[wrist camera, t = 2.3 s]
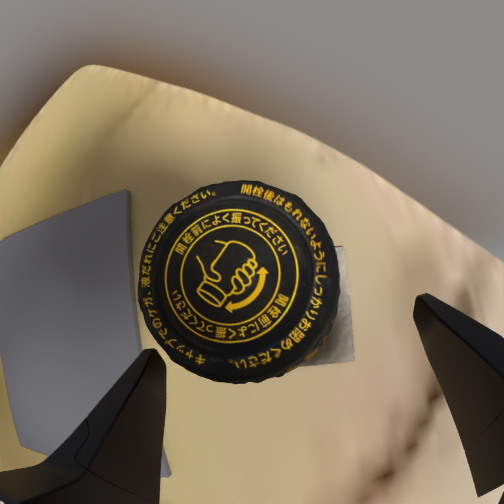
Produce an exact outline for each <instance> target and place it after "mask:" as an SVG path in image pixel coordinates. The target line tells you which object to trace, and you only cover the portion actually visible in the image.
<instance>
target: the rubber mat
mask: <svg viewBox="0 0 504 504" xmlns="http://www.w3.org/2000/svg"><path fill="white" fill-rule="evenodd" d="M0 351H1V359H2V367H3V373H4V379H5V385H6V390H7V395H8V400H9V405H10V409H11V413H12V417H13V421H14V425H15V428H16V432H17V435H18V439H19V442H20V445H21V446H22V447H25V448H28V449H30V450H33V451H36V452H39V453H42V454H45V455H48V456H50V455H51V454H52V453H53V452H54V451H55V450H56V449H57V448H58V447H59V446H60V445H61V444H62V443H63V442H64V441H65V440H66V439H67V438H68V437H69V436H70V435H71V434H72V433H73V432H74V430H75V429H76V428H77V427H78V426H79V425H80V424H81V422H82V421H83V420H84V419H85V418H86V417H87V415H88V414H89V413H90V412H91V411H92V409H93V408H94V407H95V406H96V405H97V404H98V402H99V401H100V400H101V399H102V398H103V396H104V395H105V394H106V393H107V392H108V391H109V389H110V388H111V387H112V386H113V385H114V384H115V382H116V381H117V380H118V379H119V378H120V377H121V375H122V374H123V373H124V372H125V371H126V370H127V368H128V367H129V366H130V365H131V364H132V363H133V361H134V360H135V359H136V358H137V357H138V356H139V355H140V353H141V352H142V345H141V338H140V331H139V324H138V316H137V308H136V299H135V289H134V279H133V266H132V251H131V231H130V192H129V191H128V190H127V189H125V190H122V191H120V192H117V193H114V194H111V195H108V196H105V197H103V198H100V199H97V200H94V201H92V202H89V203H86V204H84V205H81V206H79V207H76V208H74V209H71V210H69V211H66V212H64V213H61V214H59V215H56V216H54V217H52V218H49V219H47V220H45V221H42V222H40V223H38V224H35V225H33V226H31V227H29V228H27V229H24V230H22V231H20V232H18V233H16V234H14V235H12V236H10V237H7V238H5V239H3V240H1V241H0ZM170 475H171V471H170V468H169V465H168V461H167V458H166V454H165V451H164V447H163V448H162V462H161V477H169V476H170Z"/></svg>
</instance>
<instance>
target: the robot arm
mask: <svg viewBox="0 0 504 504" xmlns="http://www.w3.org/2000/svg"><path fill="white" fill-rule="evenodd" d="M413 318H414V321H415V324H416V327H417V329H418V332H419V335H420V338H421V341H422V344H423V347H424V350H425V352H426V355H427V357H428V360H429V362H430V364H431V366H432V369H433V371H434V373H435V375H436V378H437V380H438V382H439V385H440V387H441V389H442V392H443V394H444V396H445V399H446V401H447V404H448V406H449V409H450V412H451V414H452V417H453V419H454V422H455V425H456V427H457V430H458V433H459V436H460V439H461V442H462V445H463V448H464V451H465V454H466V457H467V461H468V464H469V467H470V471H471V474H472V478H473V481H474V485H475V489H476V493H477V496H478V497H480V496H482V495H484V494H486V493H488V492H490V491H492V490H494V489H496V488H498V487H500V486H501V485H503V484H504V338H503V337H502V336H501V335H499V334H497V333H496V332H494V331H492V330H491V329H489V328H487V327H486V326H484V325H482V324H481V323H479V322H477V321H476V320H474V319H472V318H471V317H469V316H467V315H465V314H464V313H462V312H460V311H459V310H457V309H455V308H453V307H452V306H450V305H448V304H446V303H445V302H443V301H441V300H439V299H437V298H436V297H434V296H432V295H430V294H428V293H424V294H421V295H418V296H417V297H416V299H415V305H414V311H413ZM165 415H166V364H165V362H164V360H163V359H162V357H161V356H160V354H159V353H158V351H157V350H156V349H155V348H151V349H144V350H143V351H142V352H141V353H140V355H139V356H138V357H137V358H136V359H135V360H134V361H133V363H132V364H131V365H130V366H129V367H128V368H127V370H126V371H125V372H124V373H123V374H122V375H121V377H120V378H119V379H118V380H117V381H116V382H115V384H114V385H113V386H112V387H111V388H110V389H109V391H108V392H107V393H106V394H105V395H104V396H103V398H102V399H101V400H100V401H99V402H98V404H97V405H96V406H95V407H94V408H93V409H92V411H91V412H90V413H89V414H88V415H87V417H86V418H85V419H84V420H83V421H82V422H81V424H80V425H79V426H78V427H77V428H76V429H75V430H74V432H73V433H72V434H71V435H70V436H69V437H68V438H67V439H66V440H65V441H64V442H63V443H62V444H61V445H60V446H59V447H58V448H57V449H56V450H55V451H54V452H53V453H52V454H51V455H50V456H49V457H48V458H47V459H46V460H45V461H43V462H42V463H40V464H38V465H35V466H31V467H26V468H21V469H15V470H9V471H3V472H0V501H1V502H3V504H159V500H160V478H161V462H162V448H163V436H164V425H165ZM0 504H1V503H0ZM498 504H504V492H503V494H502V497H501V499H500V501H499V503H498Z"/></svg>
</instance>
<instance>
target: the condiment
mask: <svg viewBox="0 0 504 504" xmlns="http://www.w3.org/2000/svg"><path fill="white" fill-rule="evenodd" d="M138 302H139V305H140V309H141V311H142V313H143V316H144V319H145V323H146V325H147V327H148V329H149V331H150V333H151V334H152V336H153V337H154V339H155V340H156V341H157V343H158V344H159V345H160V346H161V347H162V348H163V349H164V351H165V352H166V353H167V355H168V356H169V357H170V359H171V360H172V361H173V362H175V363H177V364H178V365H180V366H182V367H184V368H185V369H186V370H188V371H190V372H192V373H194V374H196V375H198V376H200V377H204V378H207V379H210V380H212V381H216V382H225V383H232V384H245V383H247V382H254V383H259V382H262V381H264V380H266V379H268V378H273V377H281V376H283V375H284V374H285V373H288V372H290V371H292V370H294V369H295V368H297V367H300V366H310V365H321V364H331V363H342V362H349V361H355V357H354V344H353V329H352V317H351V305H350V295H349V283H348V274H347V266H346V256H345V249H344V247H335V246H334V244H333V241H332V239H331V237H330V236H329V233H328V231H327V229H326V227H325V225H324V223H323V222H322V221H321V219H320V218H319V217H318V216H317V215H316V214H315V213H314V212H313V211H312V210H311V209H310V208H309V207H308V206H307V205H306V204H305V202H304V201H303V200H302V199H301V198H300V197H298V196H297V195H295V194H291V193H289V192H286V191H283V190H281V189H278V188H276V187H273V186H270V185H267V184H264V183H262V182H260V181H246V180H241V181H226V182H223V183H219V184H212V185H209V186H205V187H201V188H199V189H198V190H196V191H195V192H193V193H192V194H191V195H189V196H187V197H186V198H184V199H183V200H181V201H179V202H177V203H175V204H173V205H172V206H171V207H170V208H169V209H168V210H167V211H166V212H165V213H164V214H163V216H162V217H161V218H160V220H159V221H158V222H157V224H156V225H155V227H154V229H153V230H152V232H151V234H150V236H149V238H148V240H147V242H146V244H145V246H144V249H143V252H142V256H141V261H140V272H139V282H138Z"/></svg>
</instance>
